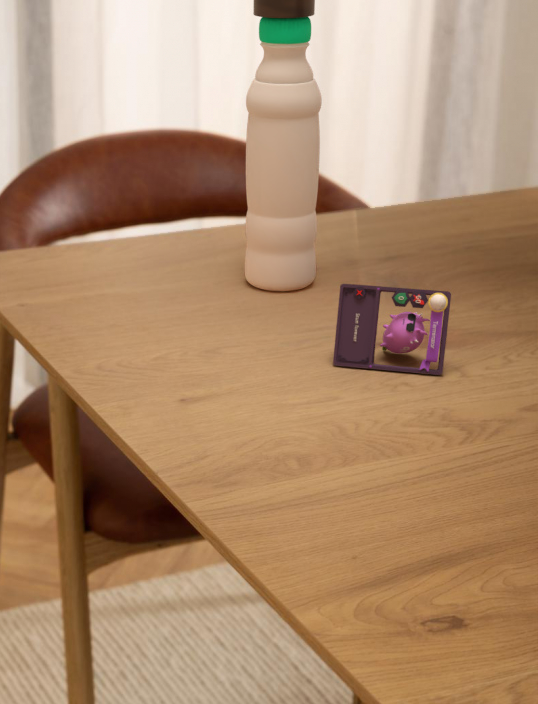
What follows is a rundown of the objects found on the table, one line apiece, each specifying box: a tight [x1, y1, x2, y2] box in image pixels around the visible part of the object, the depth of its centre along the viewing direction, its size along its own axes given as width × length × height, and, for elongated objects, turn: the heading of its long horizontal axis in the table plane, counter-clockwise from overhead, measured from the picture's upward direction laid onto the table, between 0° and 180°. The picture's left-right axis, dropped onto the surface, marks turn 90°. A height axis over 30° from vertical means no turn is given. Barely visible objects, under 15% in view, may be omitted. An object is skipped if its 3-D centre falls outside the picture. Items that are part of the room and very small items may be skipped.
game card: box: [332, 283, 452, 376], centre depth 99 cm, size 7×5×9 cm
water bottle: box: [244, 16, 322, 292], centre depth 113 cm, size 7×7×25 cm
